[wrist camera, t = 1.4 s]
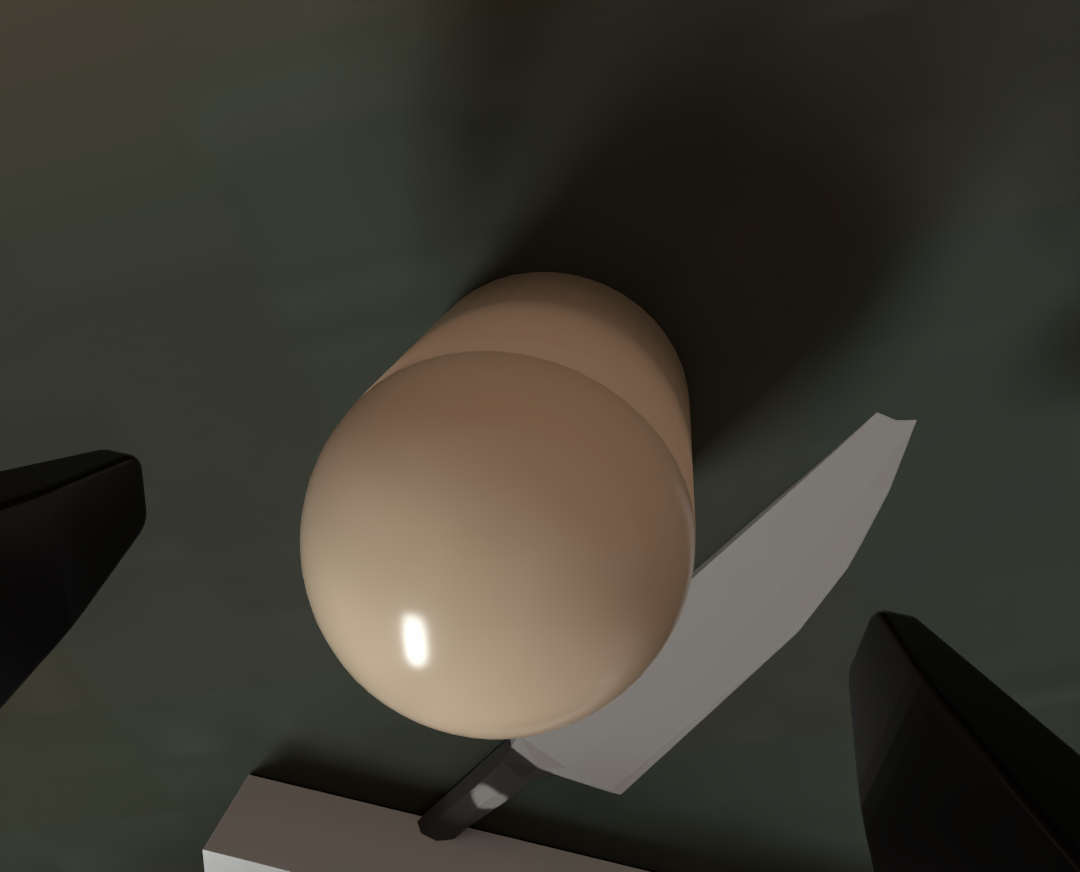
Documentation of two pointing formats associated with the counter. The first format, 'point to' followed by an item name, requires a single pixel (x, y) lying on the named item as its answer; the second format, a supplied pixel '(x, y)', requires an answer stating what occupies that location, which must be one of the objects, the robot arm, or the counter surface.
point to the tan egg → (508, 512)
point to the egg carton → (361, 839)
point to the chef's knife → (707, 633)
